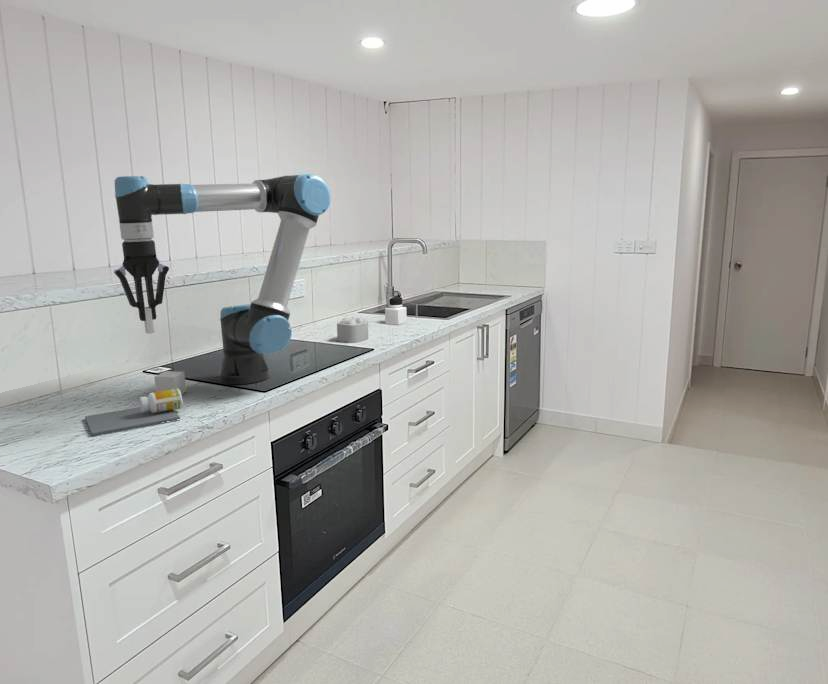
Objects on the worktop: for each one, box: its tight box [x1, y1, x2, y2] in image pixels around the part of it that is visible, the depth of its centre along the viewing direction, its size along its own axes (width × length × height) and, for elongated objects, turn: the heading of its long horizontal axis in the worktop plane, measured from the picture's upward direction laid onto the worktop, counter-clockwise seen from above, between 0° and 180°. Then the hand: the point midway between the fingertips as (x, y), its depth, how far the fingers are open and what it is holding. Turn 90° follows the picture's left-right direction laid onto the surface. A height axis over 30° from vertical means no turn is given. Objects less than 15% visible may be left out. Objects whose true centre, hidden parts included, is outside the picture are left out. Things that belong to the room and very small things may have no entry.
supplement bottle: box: [138, 389, 183, 413], centre depth 164 cm, size 5×5×10 cm
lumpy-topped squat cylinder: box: [336, 316, 369, 344], centre depth 252 cm, size 10×13×9 cm
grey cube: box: [153, 370, 187, 395], centre depth 182 cm, size 6×6×6 cm
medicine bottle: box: [384, 296, 408, 326], centre depth 284 cm, size 7×7×12 cm
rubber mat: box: [84, 406, 181, 437], centre depth 161 cm, size 20×15×1 cm
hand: (149, 332), depth 163 cm, fingers closed
